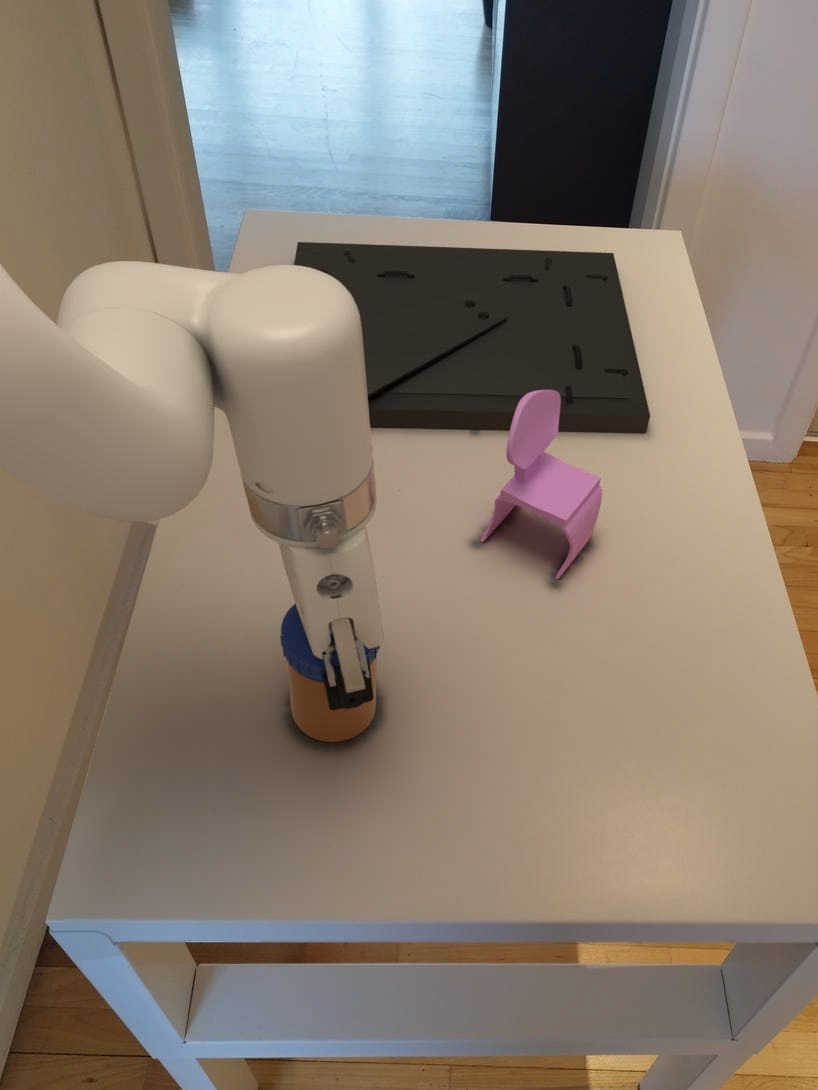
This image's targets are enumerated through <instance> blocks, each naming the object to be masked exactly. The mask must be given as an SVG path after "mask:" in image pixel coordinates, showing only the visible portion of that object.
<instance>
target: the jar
mask: <svg viewBox="0 0 818 1090" xmlns="http://www.w3.org/2000/svg"><path fill="white" fill-rule="evenodd" d="M285 663H286V673H287V674H286V675H287V683H288V684H287V685H288V693H289V701H290V702H289V703H290V711H291V716H292V720H293V722H294V723H295V725H296V726H297V727H298V729H299V730H300V731H301V732H302V733H304V734H305V735H306V736H307V737H310V738H311V739H314V740H317V741H319V742H320V741H321V742H325V743H340V742H345V741H349V740H350V739H353V738H355V737H357V736H359V735H360V734H362V733H363V732H365V730H366V729H367V728H368V727H369V726H370V725H371V723H372V721H373V720H374V717H375V715H376V714H375V713H376V709H377V708H376V707H377V675H378V674H377V672H378V654H377V655H376V659H374V660H373V662H372V663H371V664H370V671H371V680H372V688H373V696H374V698H373V700H372V701H370V702H366V703H363V704H362V705H360V706H358V707H355V708H351V709H344V708H342V709H338V710H330V708H329V704H328V700H327V694H326V689H325V684H324V681H323V682H321V681H319V680H315V679H311V678H310V679H309V678H308V677H306V676H304V675H302V674H301V673H298V672H297V671H296V670H295V669H294V668H293V667H292V666H291V665H289V662H288V661H287V659H286V658H285Z"/></svg>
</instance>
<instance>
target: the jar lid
mask: <svg viewBox="0 0 818 1090" xmlns="http://www.w3.org/2000/svg"><path fill="white" fill-rule="evenodd" d="M353 633H354V631H353ZM330 634H331V638H333V635H332V633H330ZM279 637H280V645H281V647H282V653H283V657H285V660H286V659H287V661H288V662H289V665H291V666H292V667H293V668H294V669H295V670H296V671H297V672H298V673H301V674H302V675H304V676H306V677H308V678H309V679H310V678H311V679H315V680H319V681H321V682H323V681H324V679H323V674H324V673H326V669H325V664H324V659H320V658H318V657H316V656H315V655H314V654H313V652H312V649H311V647H310V644H309V641H308V638H307V636H306V633H305V630H304V627H303V624H302V621H301V618H300V616H299V613H298V610H297V607H296V603H295V602H294V604H293V605H292V606H290V608H289V609H288V610H287V611H286V613H285V614H284V617H283V619H282V621H281V627H280V636H279ZM363 645H364V644H363ZM380 648H381V645H380V646H378V647H374V648H371V649H368V648H367V647H366V646H365V645H364V650H365V655H366V660H367V663H369V666H370V664H371V663H372V662H373V660H374V659H376V655H377V656H378V652H379V650H380ZM331 656H332V661H333V666H338V665H339V660H338V656H337V653H333V654H331Z"/></svg>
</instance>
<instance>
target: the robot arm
mask: <svg viewBox="0 0 818 1090" xmlns="http://www.w3.org/2000/svg"><path fill="white" fill-rule="evenodd" d="M216 408H217V409H219V410H220V411H222V412H223V414H224V415H225V416H226V420H227V422H228V426H229V430H230V434H231V438H232V442H233V447H234V451H235V455H236V459H237V464H238V468H239V470H240V477H241V480H242V485H243V488H244V492H245V496H246V500H247V505H248V509H249V514H250V518H251V519H252V521H253V523H254V525H255V527H256V528H257V529H258V530H259V531H260V532H261V533H262V534H263V535H264V536H265V537H267V538H268V539H270V540H271V541H274V542H276V543H278V547H279V550H280V555H281V559H282V563H283V567H284V570H285V574H286V576H287V581H288V585H289V588H290V591H291V594H292V597H293V600H294V604H295V603H296V607H297V610H298V613H299V616H300V618H301V621H302V624H303V627H304V630H305V633H306V636H307V638H308V641H309V644H310V647H311V649H312V652H313V654H314V655H315V656H316V657H318V658H320V659H324V664H325V669H326V673H324V674H323V679H324V684H325V689H326V694H327V700H328V704H329V708H330V710H338V709H342V708H344V709H351V708H355V707H358V706H360V705H362V704H363V703H366V702H370V701H372V700H373V698H374V696H373V688H372V680H371V671H370V666H369V663H367V660H366V655H365V650H364V645H365V646H366V647H367V648H368V649H371V648H374V647H378V646H380V647H381V646H382V644H383V643H384V640H385V633H384V627H383V621H382V615H381V606H380V600H379V593H378V586H377V581H376V580H377V579H376V573H375V567H374V562H373V556H372V555H373V554H372V550H371V545H370V540H369V536H368V531H367V525H368V524H369V522H370V521H371V519H372V518H373V516H374V513H375V511H376V507H377V503H378V501H377V487H376V476H375V475H376V474H375V464H374V463H375V462H374V454H373V453H374V451H373V442H372V441H373V440H372V439H373V438H372V430H371V429H372V428H371V427H370V418H369V407H368V395H367V383H366V371H365V359H364V347H363V335H362V326H361V319H360V314H359V310H358V307H357V305H356V303H355V301H354V299H353V297H352V295H351V293H350V292H349V291H348V290H347V289H346V288H345V287H344V286H343V285H342V284H341V283H340V282H339V281H338V280H336V279H335V278H334V277H332V276H330V275H328V274H326V273H324V272H321V271H319V270H316V269H313V268H309V267H304V266H297V265H294V264H275V265H268V266H262V267H257V268H254V269H250V270H247V271H245V272H243V273H235V272H227V271H226V272H225V271H215V270H209V269H201V268H192V267H185V266H178V265H172V264H164V263H159V262H158V263H157V262H149V261H141V260H136V261H135V260H117V261H109V262H103V263H100V264H97V265H93V266H91V267H89V268H88V269H86V270H84V271H82V272H81V273H80V274H77V276H76V277H75V278H74V279H73V280H72V281H71V283H70V284H69V286H68V287H67V288H66V290H65V292H64V294H63V297H62V300H61V302H60V306H59V310H58V315H57V322H56V323H55V322H54V321H53V320H52V319H51V318H50V317H49V316H48V315H47V314H45V313H44V312H43V310H42V309H40V307H38V306H37V305H36V304H35V303H34V302H33V301H32V300H31V299H30V298H29V296H28V295H27V294H26V293H25V292H24V290H22V288H21V287H20V286H19V285H18V284H17V283H16V282H15V281H14V279H13V278H12V277H11V275H9V273H8V272H7V270H6V269H5V268H4V266H3V265H2V264H1V263H0V470H1V471H3V472H5V473H6V474H7V475H9V476H11V477H13V478H14V479H16V480H18V481H20V482H21V483H23V484H25V485H27V486H28V487H30V488H32V489H34V490H36V491H37V492H40V493H41V494H43V495H45V496H46V497H49V498H51V499H53V500H55V501H57V502H60V503H62V504H63V505H65V506H67V507H70V508H73V509H74V510H78V511H80V512H83V513H86V514H89V515H92V516H95V517H99V518H102V519H107V520H112V521H117V522H122V523H124V522H125V523H126V522H127V523H147V522H153V521H158V520H161V519H164V518H168V517H170V516H173V515H175V514H177V513H178V512H180V511H182V510H184V509H185V508H186V507H188V506H189V504H190V503H192V502H193V501H194V500H195V499H196V498H197V497H198V495H199V494H200V493H201V490H203V488H204V487H205V485H206V483H207V481H208V478H209V475H210V471H211V469H212V466H213V457H214V444H215V441H214V440H215V409H216ZM353 631H354V633H353ZM330 633H332V635H333V638H331V634H330ZM363 644H364V645H363ZM333 653H337V656H338V660H339V665H338V666H333V661H332V656H331V654H333Z"/></svg>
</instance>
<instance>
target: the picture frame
mask: <svg viewBox="0 0 818 1090" xmlns="http://www.w3.org/2000/svg"><path fill="white" fill-rule="evenodd" d="M616 262H617V261H616V258H615V254H614V253H613V252H601V251H599V252H597V251H595V252H594V251H568V250H567V251H566V250H541V249H539V250H538V249H511V248H485V247H484V248H483V247H481V248H480V247H479V248H478V247H457V246H456V247H455V246H453V247H452V246H426V245H425V246H424V245H399V244H397V245H396V244H368V243H367V244H366V243H363V244H362V243H343V242H342V243H337V242H311V241H309V242H308V241H307V242H306V241H298V242H297V245H296V249H295V256H294V262H293V265H297V266H304V267H309V268H313V269H316V270H319V271H321V272H324V273H326V274H328V275H330V276H332V277H334V278H335V279H336V280H338V281H339V282H340V283H341V284H342V285H343V286H344V287H345V288H346V289H347V290H348V291H349V292H350V293H351V295H352V297H353V299H354V301H355V303H356V305H357V307H358V310H359V314H360V319H361V326H362V335H363V347H364V359H365V371H366V383H367V395H368V407H369V418H370V428H398V429H399V428H403V429H404V428H406V429H448V430H449V429H450V430H451V429H453V430H454V429H455V430H489V431H490V430H493V431H494V430H495V431H496V430H497V431H510V428H511V424H512V421H513V417H514V414H515V411H516V408H517V406H518V403H519V402H520V400H521V399H522V398H523V397H524V396H525V395H526V394H528V393H530V392H533V391H538V390H555V391H557V392H558V393H559V394H560V398H561V405H560V415H559V425H558V432H583V433H584V432H585V433H586V432H587V433H628V434H629V433H630V434H631V433H632V434H645V433H647V430H648V427H649V423H650V419H651V413H650V408H649V404H648V400H647V396H646V391H645V386H644V382H643V378H642V377H643V376H642V373H641V369H640V364H639V360H638V356H637V351H636V346H635V342H634V337H633V333H632V329H631V324H630V320H629V316H628V312H627V311H628V310H627V307H626V302H625V297H624V293H623V290H622V289H623V288H622V284H621V280H620V276H619V271H618V267H617V263H616Z"/></svg>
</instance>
